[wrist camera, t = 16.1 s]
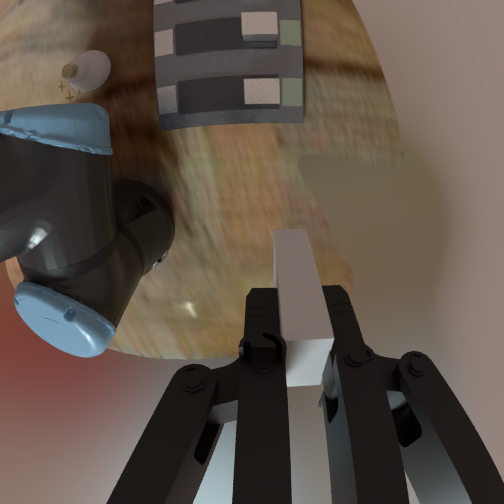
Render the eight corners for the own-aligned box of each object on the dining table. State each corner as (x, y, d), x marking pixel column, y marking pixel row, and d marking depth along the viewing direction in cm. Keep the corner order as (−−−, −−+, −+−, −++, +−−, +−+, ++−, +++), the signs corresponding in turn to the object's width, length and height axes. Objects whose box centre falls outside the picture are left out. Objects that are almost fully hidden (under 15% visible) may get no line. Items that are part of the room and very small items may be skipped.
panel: (163, 129, 32) (146, 137, 27) (158, -23, 20) (141, -38, 14) (301, 122, 32) (310, 127, 26) (295, -35, 19) (301, -55, 14)
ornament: (117, 46, 25) (76, 39, 17) (120, 93, 29) (79, 98, 21) (83, 59, 26) (39, 58, 17) (86, 103, 30) (43, 113, 21)
